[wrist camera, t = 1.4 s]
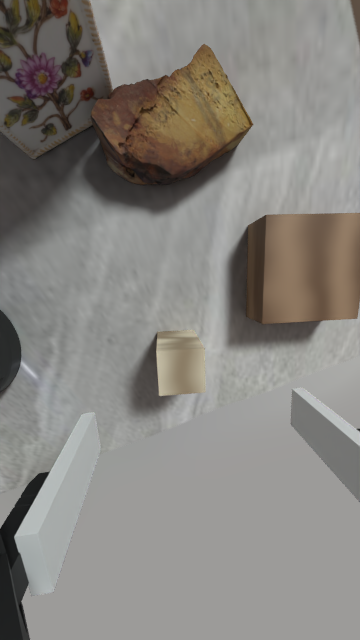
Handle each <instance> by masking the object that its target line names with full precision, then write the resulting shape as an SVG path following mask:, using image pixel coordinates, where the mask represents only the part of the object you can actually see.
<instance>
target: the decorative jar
mask: <svg viewBox="0 0 360 640" xmlns="http://www.w3.org/2000/svg"><path fill="white" fill-rule="evenodd" d="M112 92H113V88H112V83H111V79H110V76H109V71H108V67H107V63H106V60H105V55H104V51H103V47H102V44H101V40H100V37H99V33H98V29H97V26H96V22H95V18H94V14H93V10H92V6H91V3H90V0H0V132H1V133H3V134H4V135H5V136H6V137H7V138H8V139H9V140H11V141H12V142H13V143H14V144H15V145H16V146H17V147H19V148H20V149H21V150H22V151H23V152H24V153H26V154H27V155H28V156H29V157H30V158H32V159H36V158H37V157H39V156H40V155H42V154H44V153H45V152H46V151H49V150H50V149H52V148H54V147H56V146H57V145H59V144H61V143H63V142H64V141H66V140H68V139H69V138H71V137H72V136H74V135H76V134H78V133H80V132H81V131H83V130H85V129H87V128H88V127H90V126H92V125H93V124H92V121H91V117H90V116H91V111H92V108H93V107H94V105H95V104H96V102H97V100H98V99H107V98H108V95H109V94H110V93H112Z"/></svg>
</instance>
